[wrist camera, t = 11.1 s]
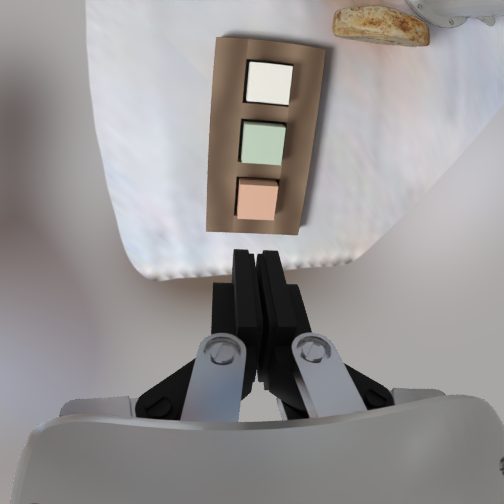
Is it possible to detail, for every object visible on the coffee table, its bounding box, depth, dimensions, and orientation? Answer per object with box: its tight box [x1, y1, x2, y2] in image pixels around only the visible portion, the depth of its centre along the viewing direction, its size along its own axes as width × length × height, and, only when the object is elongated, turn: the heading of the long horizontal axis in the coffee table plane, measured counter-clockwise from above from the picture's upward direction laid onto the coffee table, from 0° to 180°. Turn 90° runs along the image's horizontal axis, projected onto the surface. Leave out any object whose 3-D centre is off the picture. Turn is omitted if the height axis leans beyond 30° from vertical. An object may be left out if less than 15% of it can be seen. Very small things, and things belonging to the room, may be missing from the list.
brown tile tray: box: [206, 37, 326, 235], centre depth 34 cm, size 12×24×2 cm, turn 175°
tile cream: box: [246, 62, 293, 105], centre depth 30 cm, size 4×4×2 cm
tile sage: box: [241, 121, 286, 165], centre depth 33 cm, size 4×4×2 cm
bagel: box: [333, 5, 430, 47], centre depth 23 cm, size 10×4×10 cm, turn 91°
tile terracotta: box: [237, 177, 278, 220], centre depth 37 cm, size 4×4×2 cm
